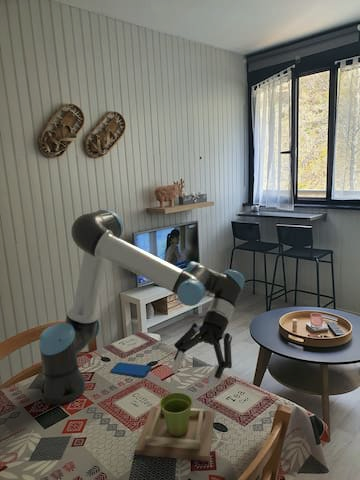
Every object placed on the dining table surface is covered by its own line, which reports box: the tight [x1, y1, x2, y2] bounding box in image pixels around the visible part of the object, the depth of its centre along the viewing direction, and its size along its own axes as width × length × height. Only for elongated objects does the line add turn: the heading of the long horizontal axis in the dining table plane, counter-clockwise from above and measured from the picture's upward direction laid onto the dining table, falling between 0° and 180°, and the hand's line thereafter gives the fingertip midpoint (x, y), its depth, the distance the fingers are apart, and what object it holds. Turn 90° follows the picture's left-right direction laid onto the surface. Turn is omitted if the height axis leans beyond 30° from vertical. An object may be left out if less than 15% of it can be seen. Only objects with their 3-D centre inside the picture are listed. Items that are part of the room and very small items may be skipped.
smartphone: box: [109, 361, 153, 378], centre depth 138 cm, size 7×1×15 cm
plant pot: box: [159, 392, 194, 436], centre depth 102 cm, size 9×9×9 cm
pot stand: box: [134, 405, 215, 462], centre depth 103 cm, size 20×18×4 cm
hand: (190, 380), depth 105 cm, fingers open, 13 cm apart
